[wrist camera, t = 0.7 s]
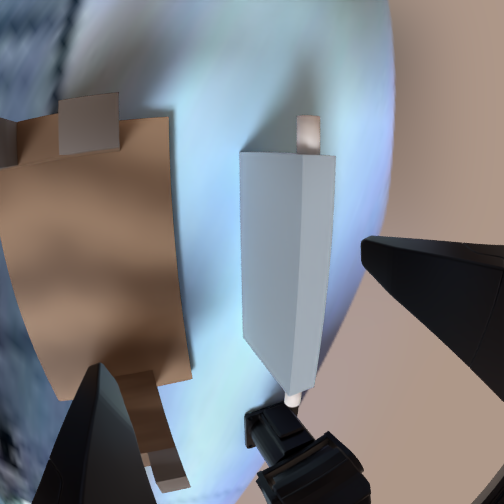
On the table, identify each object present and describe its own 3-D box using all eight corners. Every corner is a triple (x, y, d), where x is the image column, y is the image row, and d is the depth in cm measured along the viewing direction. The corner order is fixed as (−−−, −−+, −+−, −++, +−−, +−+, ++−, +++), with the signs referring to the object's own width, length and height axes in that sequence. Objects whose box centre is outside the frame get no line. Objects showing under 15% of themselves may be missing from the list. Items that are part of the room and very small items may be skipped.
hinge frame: (190, 373, 24) (239, 475, 15) (59, 394, 20) (59, 504, 10) (166, 118, 18) (222, 80, 8) (-6, 145, 13) (-105, 147, 4)
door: (263, 348, 27) (310, 405, 20) (242, 354, 26) (287, 414, 19) (264, 124, 21) (336, 117, 14) (238, 124, 20) (302, 113, 13)
